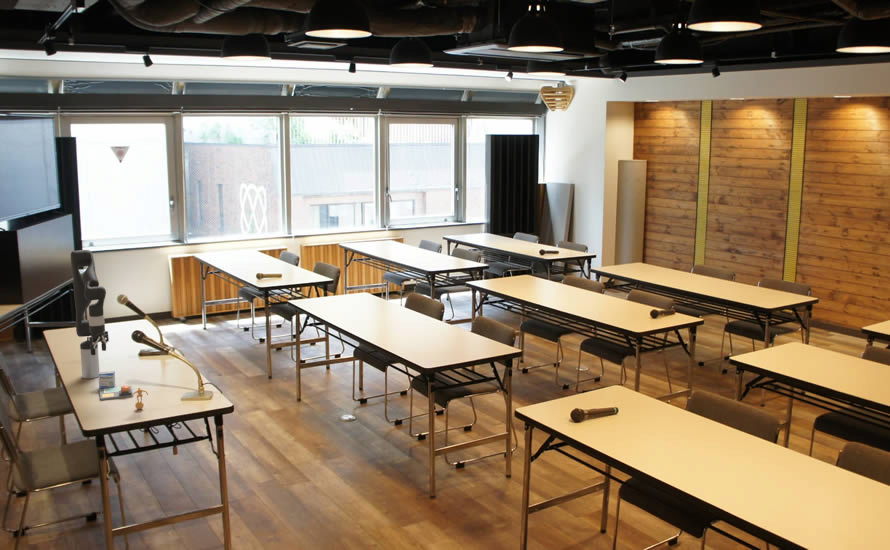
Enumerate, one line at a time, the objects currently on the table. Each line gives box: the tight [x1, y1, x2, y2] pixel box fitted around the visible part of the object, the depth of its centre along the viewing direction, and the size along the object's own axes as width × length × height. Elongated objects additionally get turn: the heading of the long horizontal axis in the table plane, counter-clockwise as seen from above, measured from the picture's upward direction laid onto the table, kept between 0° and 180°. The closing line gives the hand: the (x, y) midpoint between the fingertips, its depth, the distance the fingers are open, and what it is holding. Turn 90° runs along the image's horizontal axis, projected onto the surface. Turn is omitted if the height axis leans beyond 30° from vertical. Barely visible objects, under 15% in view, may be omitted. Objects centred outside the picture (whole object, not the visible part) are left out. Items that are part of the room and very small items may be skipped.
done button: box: [120, 385, 131, 392], centre depth 417 cm, size 4×4×2 cm
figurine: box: [130, 387, 149, 410], centre depth 395 cm, size 8×6×12 cm
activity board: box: [99, 385, 134, 401], centre depth 420 cm, size 17×16×2 cm
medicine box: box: [98, 370, 116, 390], centre depth 429 cm, size 8×4×9 cm, turn 105°
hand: (98, 352), depth 417 cm, fingers open, 8 cm apart
